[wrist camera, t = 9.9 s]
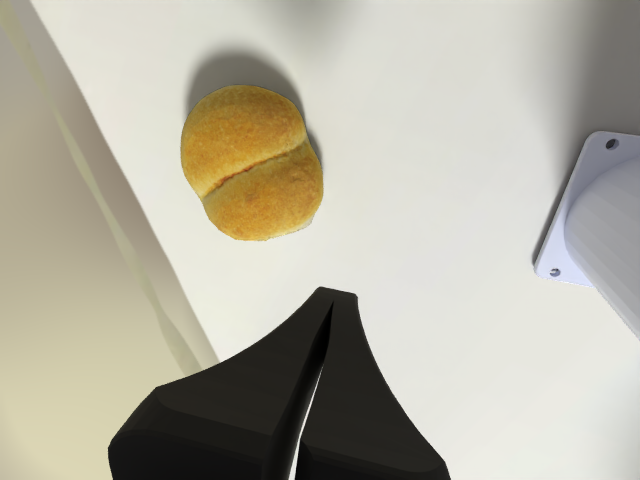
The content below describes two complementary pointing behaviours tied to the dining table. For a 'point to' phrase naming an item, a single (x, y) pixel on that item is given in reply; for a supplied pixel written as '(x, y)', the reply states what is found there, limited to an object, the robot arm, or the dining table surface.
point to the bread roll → (251, 163)
